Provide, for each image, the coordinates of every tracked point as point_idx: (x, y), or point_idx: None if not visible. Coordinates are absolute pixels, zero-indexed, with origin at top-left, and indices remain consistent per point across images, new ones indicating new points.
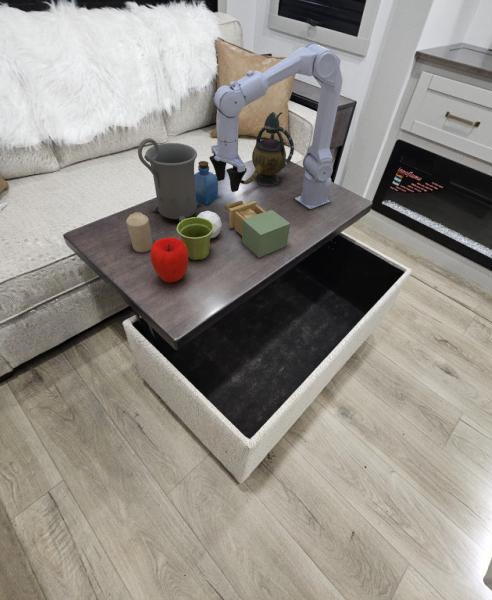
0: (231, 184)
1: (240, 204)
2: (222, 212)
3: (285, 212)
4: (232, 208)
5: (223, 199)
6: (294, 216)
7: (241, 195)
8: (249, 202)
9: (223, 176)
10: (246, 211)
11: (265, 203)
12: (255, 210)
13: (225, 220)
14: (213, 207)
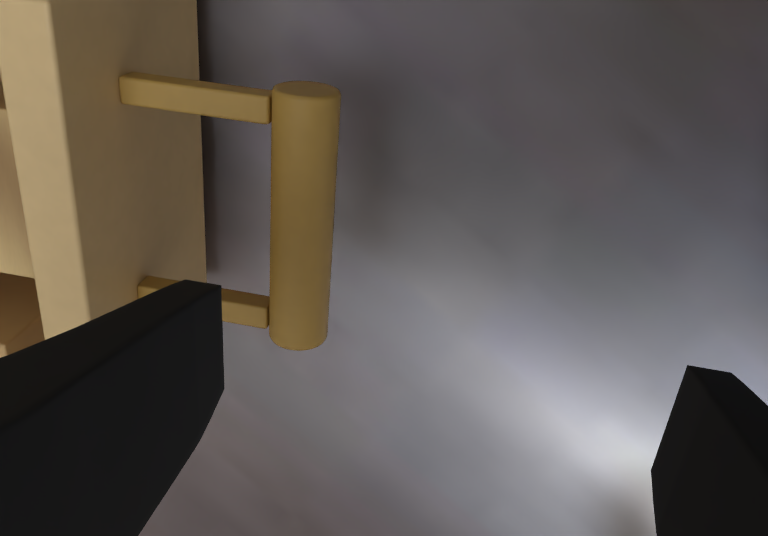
0: (70, 336)
1: (271, 291)
2: (527, 138)
3: (185, 531)
4: (29, 49)
5: (734, 328)
6: None
7: (642, 498)
8: None
9: (668, 511)
10: (5, 201)
11: (381, 531)
12: (33, 310)
13: (370, 54)
14: (694, 125)
